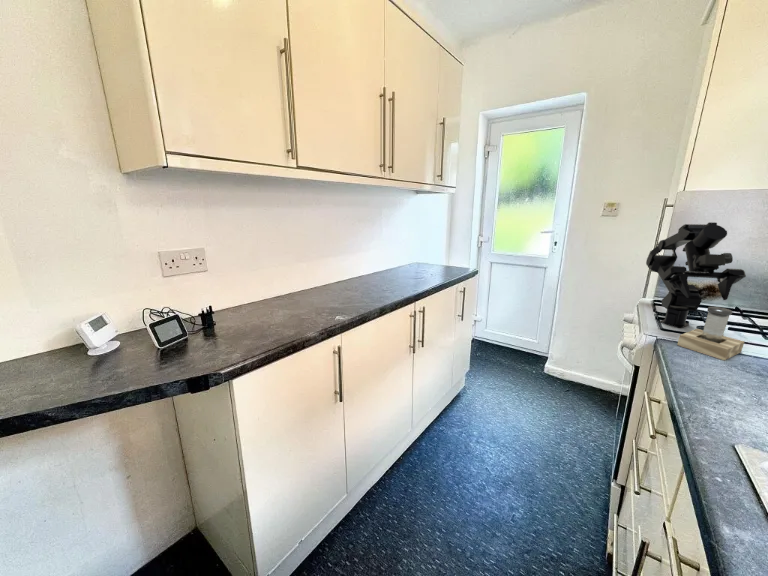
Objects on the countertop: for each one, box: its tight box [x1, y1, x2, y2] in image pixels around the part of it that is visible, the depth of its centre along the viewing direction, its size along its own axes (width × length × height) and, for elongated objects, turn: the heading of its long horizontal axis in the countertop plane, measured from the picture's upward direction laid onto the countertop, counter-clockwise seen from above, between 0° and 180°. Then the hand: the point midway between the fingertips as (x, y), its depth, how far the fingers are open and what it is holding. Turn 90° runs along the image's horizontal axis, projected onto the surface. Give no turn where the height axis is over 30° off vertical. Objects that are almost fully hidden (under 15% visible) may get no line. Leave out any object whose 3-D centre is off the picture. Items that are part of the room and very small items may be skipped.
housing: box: [676, 328, 745, 361], centre depth 97 cm, size 11×11×4 cm
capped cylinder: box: [701, 306, 733, 343], centre depth 96 cm, size 5×5×13 cm
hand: (706, 298), depth 100 cm, fingers open, 9 cm apart
